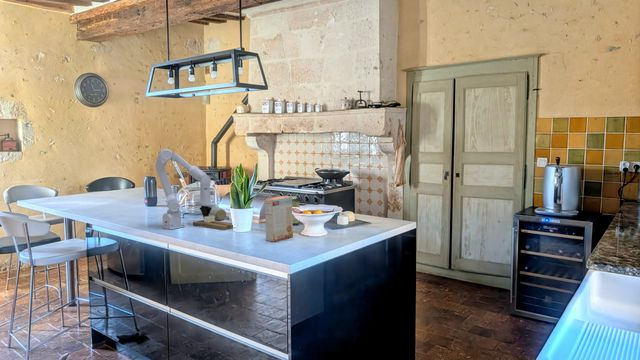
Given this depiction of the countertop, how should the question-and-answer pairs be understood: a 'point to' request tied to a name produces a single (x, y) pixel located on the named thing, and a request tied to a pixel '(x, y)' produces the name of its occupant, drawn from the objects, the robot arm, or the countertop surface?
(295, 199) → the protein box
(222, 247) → the countertop surface
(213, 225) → the fader console
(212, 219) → the fader knob
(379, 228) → the countertop surface
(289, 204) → the cracker box
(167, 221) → the robot arm
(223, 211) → the ceramic mug
